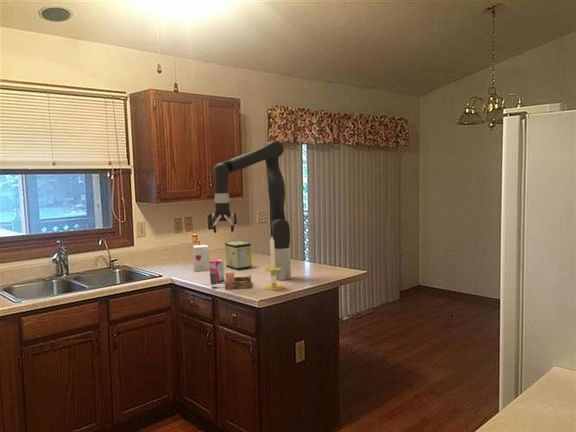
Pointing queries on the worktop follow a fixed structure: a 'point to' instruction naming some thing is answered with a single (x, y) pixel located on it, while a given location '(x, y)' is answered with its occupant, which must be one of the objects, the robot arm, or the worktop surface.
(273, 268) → the candle
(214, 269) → the supplement box
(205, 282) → the worktop surface
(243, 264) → the protein box
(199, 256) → the supplement box
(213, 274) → the lopsided dumbbell
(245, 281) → the shelf
